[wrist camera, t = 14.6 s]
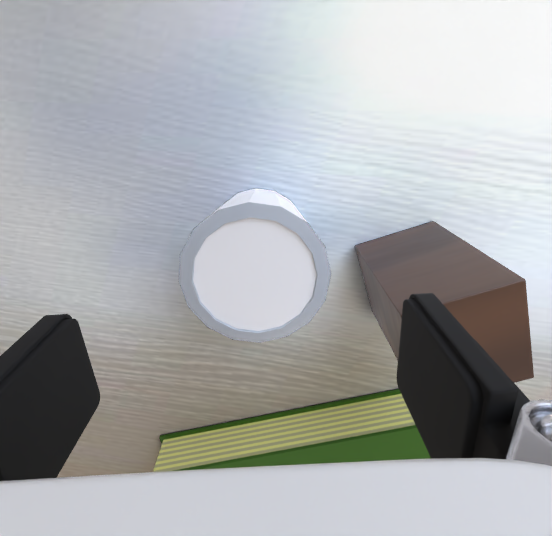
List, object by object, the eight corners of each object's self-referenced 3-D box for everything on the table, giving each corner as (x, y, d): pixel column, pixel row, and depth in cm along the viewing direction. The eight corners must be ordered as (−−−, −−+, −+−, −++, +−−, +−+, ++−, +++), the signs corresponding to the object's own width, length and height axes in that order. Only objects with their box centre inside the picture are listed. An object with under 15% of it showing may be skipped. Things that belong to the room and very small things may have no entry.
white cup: (331, 258, 24) (353, 310, 17) (236, 299, 25) (223, 364, 18) (286, 157, 21) (292, 174, 15) (182, 208, 23) (147, 244, 16)
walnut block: (354, 245, 24) (400, 315, 15) (433, 220, 23) (525, 279, 15) (372, 311, 25) (422, 406, 17) (445, 290, 25) (534, 377, 16)
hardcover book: (227, 578, 36) (222, 628, 33) (160, 435, 29) (145, 478, 26) (490, 535, 34) (515, 583, 31) (485, 372, 27) (516, 409, 24)
